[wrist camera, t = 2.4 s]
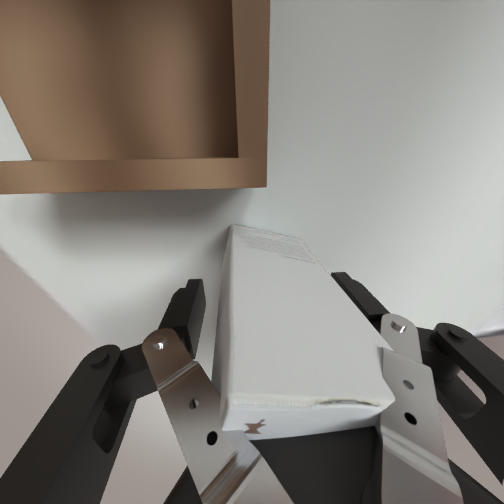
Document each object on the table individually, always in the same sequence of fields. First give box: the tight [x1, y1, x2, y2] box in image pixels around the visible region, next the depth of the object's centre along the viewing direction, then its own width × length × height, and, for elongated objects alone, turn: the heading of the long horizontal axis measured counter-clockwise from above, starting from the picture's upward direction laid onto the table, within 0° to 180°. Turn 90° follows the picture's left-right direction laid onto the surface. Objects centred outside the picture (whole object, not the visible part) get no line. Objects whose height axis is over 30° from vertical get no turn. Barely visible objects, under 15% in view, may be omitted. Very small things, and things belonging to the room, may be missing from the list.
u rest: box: [0, 0, 270, 194], centre depth 8 cm, size 13×12×5 cm
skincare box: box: [211, 225, 411, 440], centre depth 11 cm, size 6×4×12 cm
